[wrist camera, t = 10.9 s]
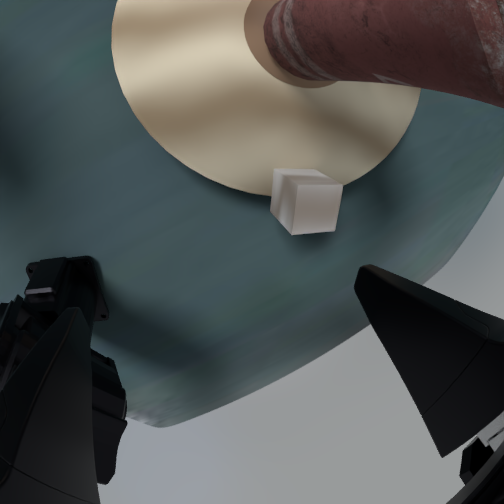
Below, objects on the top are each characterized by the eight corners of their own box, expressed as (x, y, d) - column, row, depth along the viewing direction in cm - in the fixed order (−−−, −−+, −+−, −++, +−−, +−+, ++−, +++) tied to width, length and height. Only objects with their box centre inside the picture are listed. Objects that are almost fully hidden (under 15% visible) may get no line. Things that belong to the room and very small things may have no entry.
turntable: (390, 199, 24) (427, 223, 20) (121, 216, 17) (112, 254, 13) (408, -24, 11) (447, -30, 7) (142, -86, 5) (143, -122, 1)
